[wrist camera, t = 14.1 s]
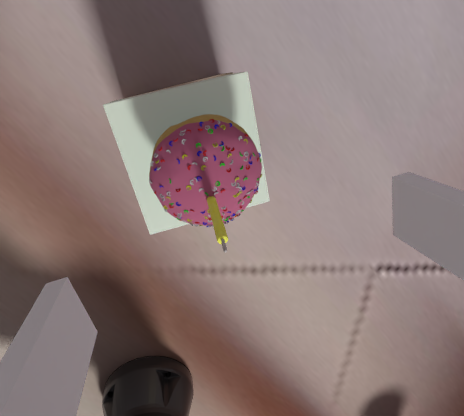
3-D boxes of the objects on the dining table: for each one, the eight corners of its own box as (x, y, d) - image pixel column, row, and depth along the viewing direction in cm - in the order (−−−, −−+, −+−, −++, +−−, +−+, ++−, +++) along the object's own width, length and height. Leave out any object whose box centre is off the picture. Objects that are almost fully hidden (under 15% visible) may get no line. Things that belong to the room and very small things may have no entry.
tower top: (152, 210, 35) (150, 234, 29) (113, 100, 30) (103, 104, 24) (253, 183, 36) (269, 201, 31) (232, 73, 31) (247, 71, 26)
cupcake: (246, 196, 30) (293, 271, 19) (157, 206, 29) (155, 293, 18) (246, 103, 26) (304, 134, 16) (143, 109, 25) (130, 148, 14)
